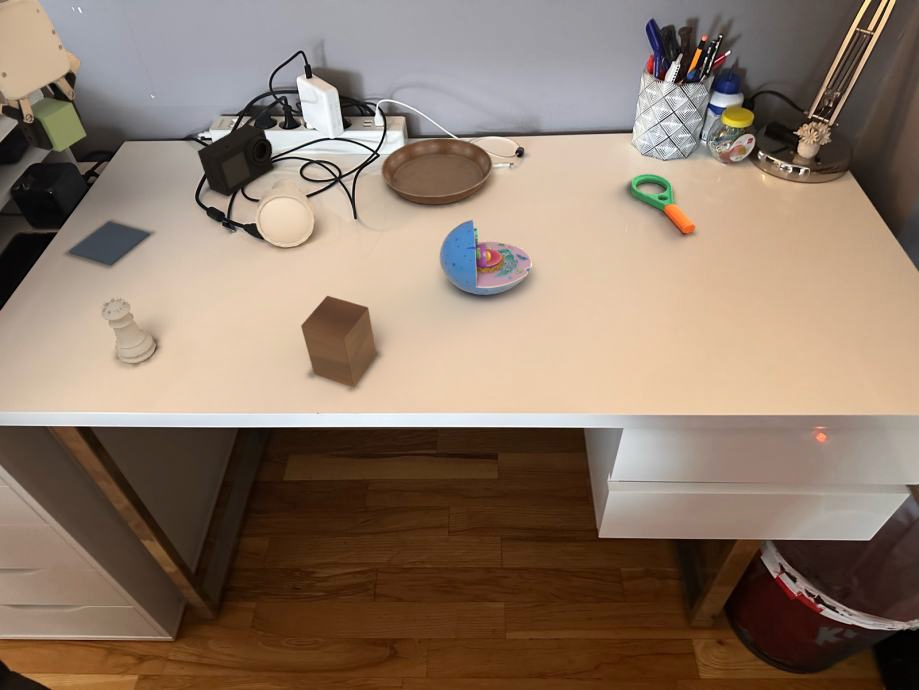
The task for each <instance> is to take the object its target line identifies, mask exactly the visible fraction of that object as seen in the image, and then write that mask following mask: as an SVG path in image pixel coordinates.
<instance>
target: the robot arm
mask: <svg viewBox="0 0 919 690" xmlns="http://www.w3.org/2000/svg"><path fill="white" fill-rule="evenodd" d="M81 64H82V61H81V59H80V58H79V57H77V56H76V55H74V54H73V53H72V52H71V51H70V50H68V49H66V48H65V46H64V44H63V42H62V40H61V37H60V36H59V34H58V32H57V30H56V28H55V27H54V25H53V22H52V20H51V19H50V16H48V14H47V12H46V11H45V8H44V7H43V6H42V4H41V2H40V1H39V0H0V94H2V96H3V97H2V98H3V99H4V103H0V115H1V116H4V117H6V118H9V119H11V120H14V121H16V122H17V123H18V126H19V128H20V129H21V131H22V133H23V135H24V136H25V138H26V140H27V142H28V143H29V144H30V145H32V147H34V148H37V149H41V150H45V151H52V150H51V149H53V145H52V143H51V141H50V139H49V137H48V135H47V133H46V131H45V129H44V127H43V125H42V123H41V121H40V120H38V119H34V116H33V112H32V109H31V105H32V104H31V101H30V98H29V95H30V94H33V93H35V92H36V91H38V90H40V89H42V88H45V87H47V89H48V90H49V92H50V93H51V94H52V96H53V97H52V98H51V97H50V98H51V99H55V100H60V101H65V102H69V103H72V105H73V107H74V109H75V111H76V114H77V116H78V118H79V120H80V122H81V124H82V127H83V129H84V130H86V128H85V125H84V122H83V121H82V116H81V113H80V112H79V110H78V108H77V105H76V103H75V101H74V100H75V98H76V91H74V89H75V86H76V81H77V75H78V72H79V70H80V67H81Z"/></svg>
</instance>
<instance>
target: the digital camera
mask: <svg viewBox="0 0 919 690" xmlns="http://www.w3.org/2000/svg"><path fill="white" fill-rule="evenodd" d="M197 155H198V158H199V160H200V164H201V166H202V169H203V172H204V174H205V175H204V176H205V178H206V181H207V184H208V186H209V187H208V188H209V190H211V191H213V192H215V193H219V194H221V195H224V196H226V197H229V196H230V195H233V194H234V193H236V192H238V191H239V190H241V189H242V188H244V187H246V186H247V185H249V184H250V183H252V182H253V181H255V180H257V179H258V178H261V177H262V176H263V175H265V174H267V173H268V172H269V171H271V170H273V169H274V168H275V167H274V163H273V160H272V159H273V158H272V155H273V145H272V143H271V141H270V140H269V139H268V138H267V135H266V132H265V129H263V128H260V127H257V126H255V125H251V124H248V123H245V124H244V125H242V126H240V127H238V128H236V129H235V130H233V131H231V132H229V133H227V134H225V135H224V136H222V137H220V138H218V139H216V140H215V141H213V142H211V143H209V144H208V145H206V146H204V147H202V148H200V149H199V150H197Z"/></svg>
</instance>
